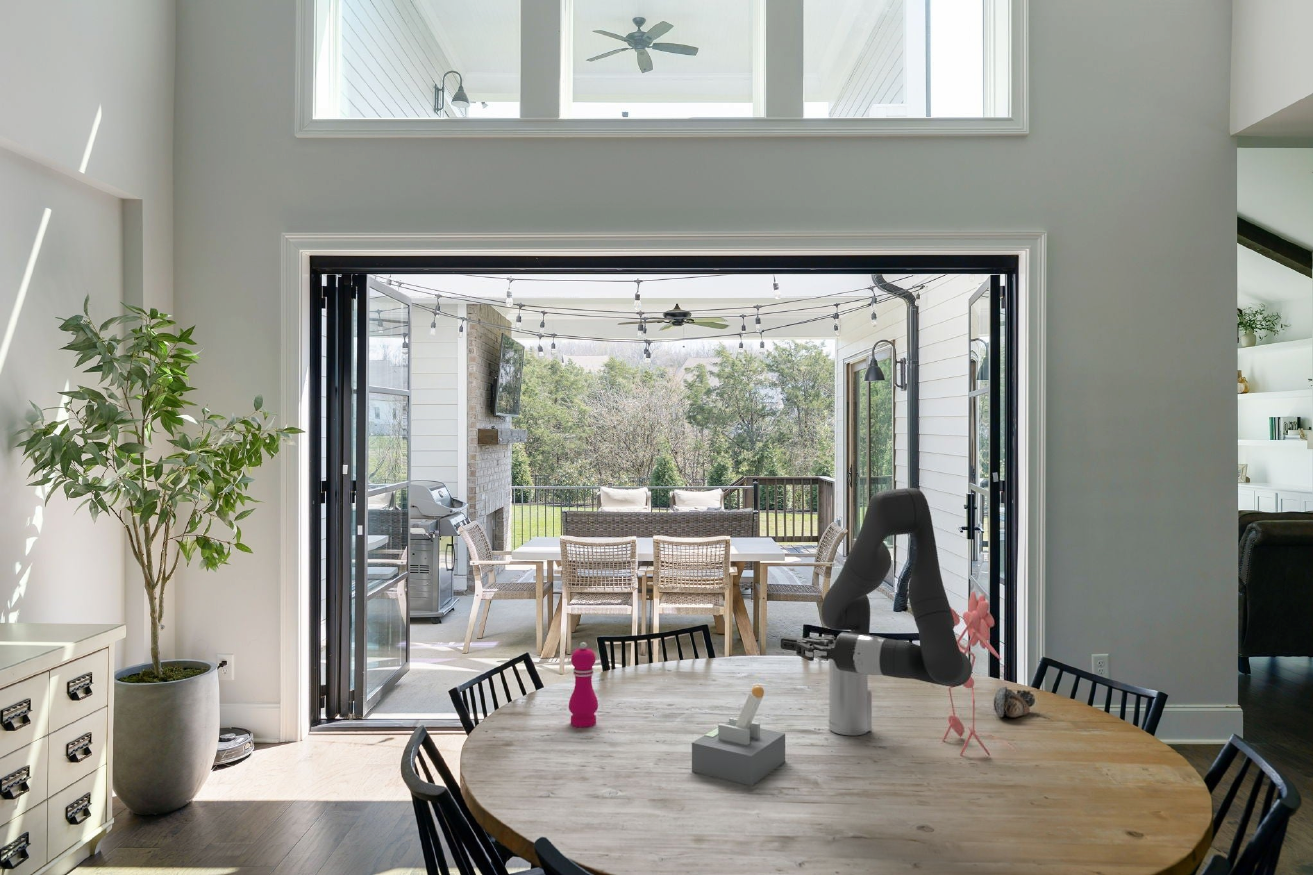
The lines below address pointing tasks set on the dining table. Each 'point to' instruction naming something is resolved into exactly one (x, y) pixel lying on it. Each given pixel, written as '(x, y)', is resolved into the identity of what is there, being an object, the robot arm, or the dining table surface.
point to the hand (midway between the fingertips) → (782, 642)
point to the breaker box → (738, 752)
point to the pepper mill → (583, 688)
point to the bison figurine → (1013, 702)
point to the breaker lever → (750, 707)
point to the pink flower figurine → (978, 631)
